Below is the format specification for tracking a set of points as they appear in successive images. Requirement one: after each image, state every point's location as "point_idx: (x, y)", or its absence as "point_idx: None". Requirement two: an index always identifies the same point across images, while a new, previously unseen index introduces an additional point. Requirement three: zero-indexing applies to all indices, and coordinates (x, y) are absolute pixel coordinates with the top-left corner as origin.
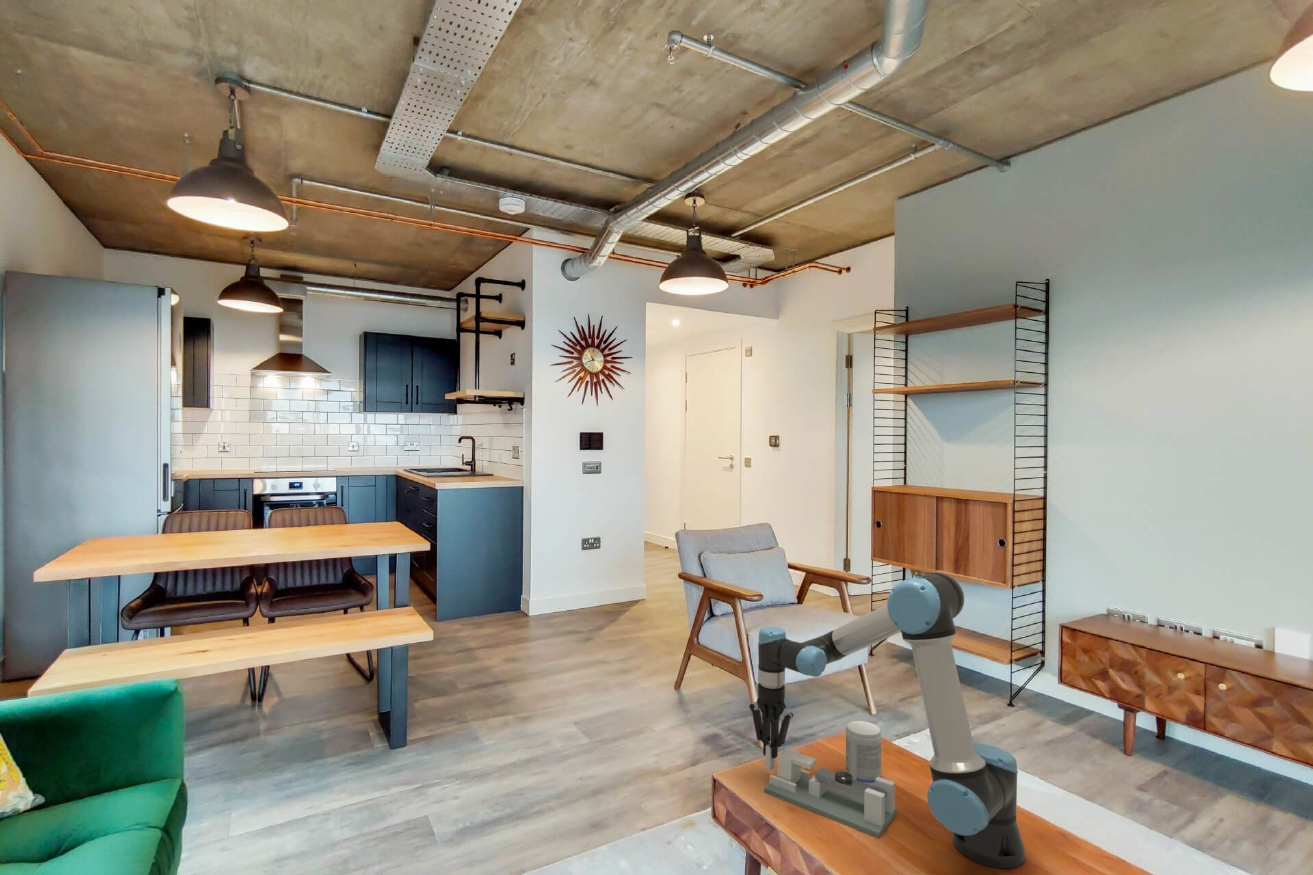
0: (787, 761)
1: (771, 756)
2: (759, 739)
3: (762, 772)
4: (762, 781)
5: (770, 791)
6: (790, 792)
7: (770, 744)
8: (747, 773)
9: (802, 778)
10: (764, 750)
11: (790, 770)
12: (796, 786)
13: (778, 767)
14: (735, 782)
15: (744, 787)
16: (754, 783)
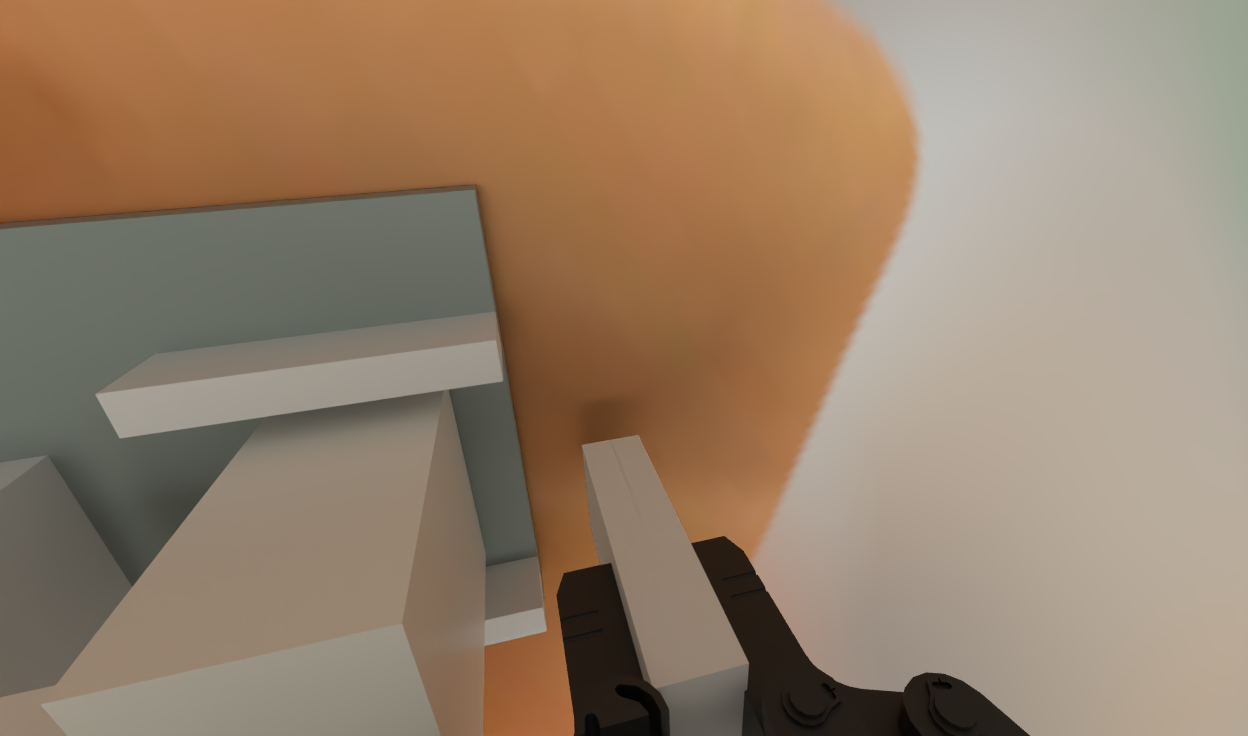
0: (178, 627)
1: (614, 573)
2: (919, 696)
3: (690, 447)
4: (611, 339)
5: (389, 194)
6: (199, 330)
7: (703, 733)
8: (777, 346)
9: None
10: (739, 585)
11: (183, 532)
12: None
13: (411, 477)
14: (794, 127)
15: (680, 109)
16: (646, 255)
